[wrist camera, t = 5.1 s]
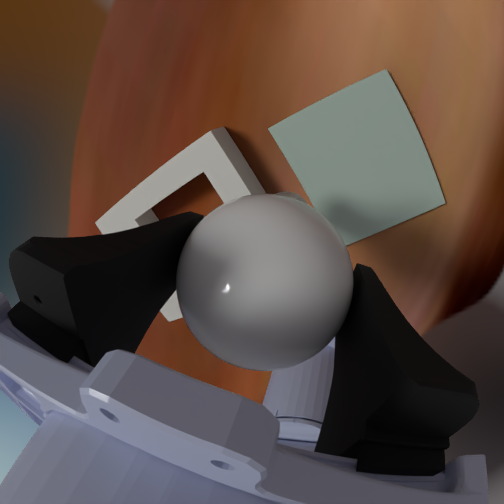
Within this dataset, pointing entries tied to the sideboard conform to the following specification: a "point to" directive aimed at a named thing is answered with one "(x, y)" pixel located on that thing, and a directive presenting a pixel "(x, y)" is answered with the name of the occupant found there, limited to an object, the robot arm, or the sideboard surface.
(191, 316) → the lightbulb
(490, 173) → the sideboard surface
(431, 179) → the mat
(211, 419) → the robot arm
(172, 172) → the bulb holder
